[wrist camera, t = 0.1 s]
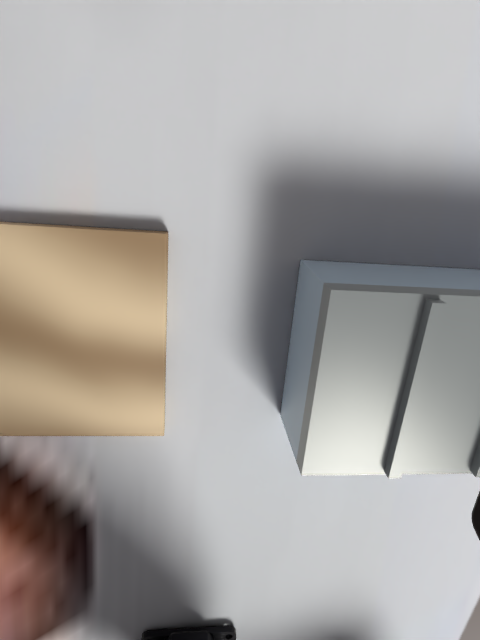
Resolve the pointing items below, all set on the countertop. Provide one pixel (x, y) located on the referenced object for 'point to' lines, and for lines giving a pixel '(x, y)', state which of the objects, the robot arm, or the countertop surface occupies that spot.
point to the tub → (309, 307)
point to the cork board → (82, 330)
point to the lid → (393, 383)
